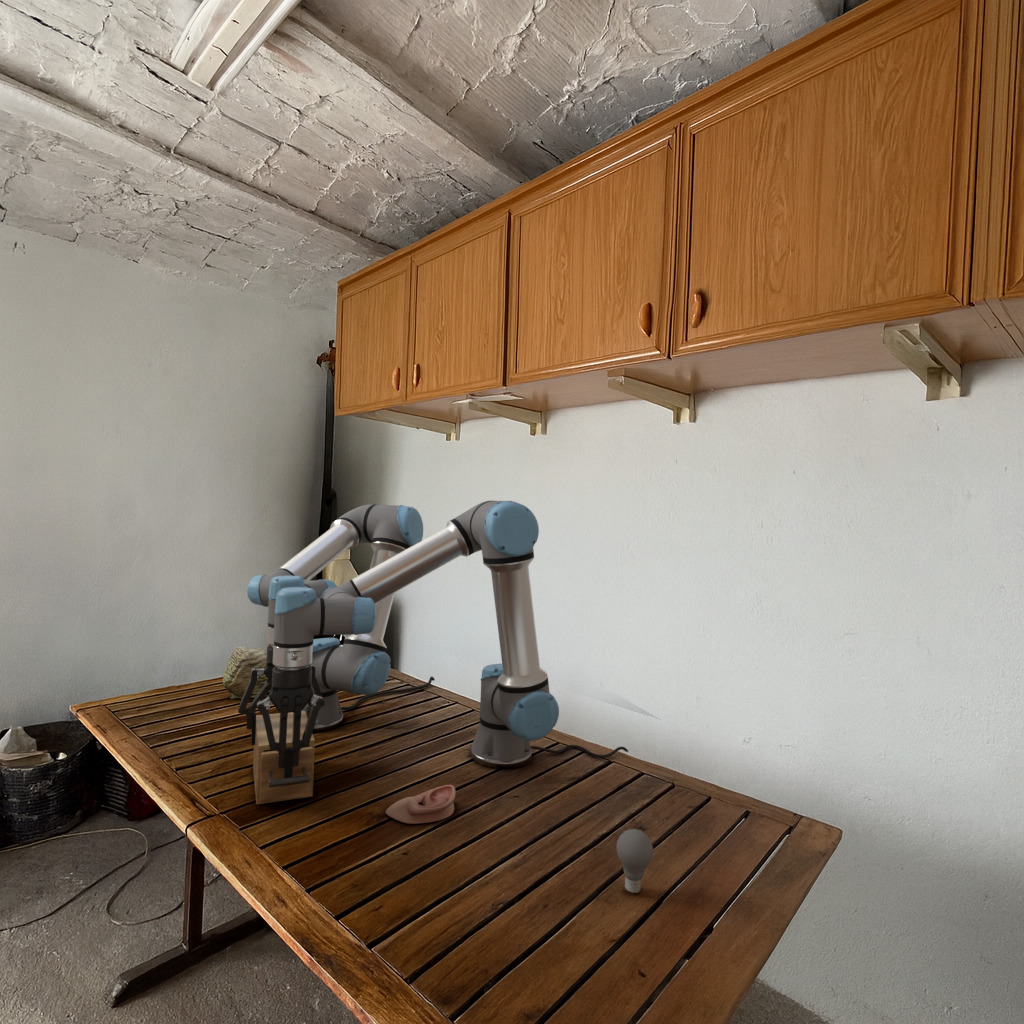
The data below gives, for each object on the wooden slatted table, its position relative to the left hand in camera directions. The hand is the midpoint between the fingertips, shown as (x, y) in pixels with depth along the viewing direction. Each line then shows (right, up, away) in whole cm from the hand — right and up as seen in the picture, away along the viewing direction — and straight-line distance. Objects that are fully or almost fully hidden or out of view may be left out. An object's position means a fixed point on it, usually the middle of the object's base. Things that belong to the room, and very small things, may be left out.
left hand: (280, 739), depth 144 cm
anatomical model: (+34, -9, -15) cm, 38 cm away
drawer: (+4, -7, -9) cm, 12 cm away
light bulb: (+73, -11, -39) cm, 83 cm away
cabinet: (+2, -8, -4) cm, 9 cm away
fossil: (-28, -5, +54) cm, 61 cm away
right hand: (+8, -2, -18) cm, 19 cm away
